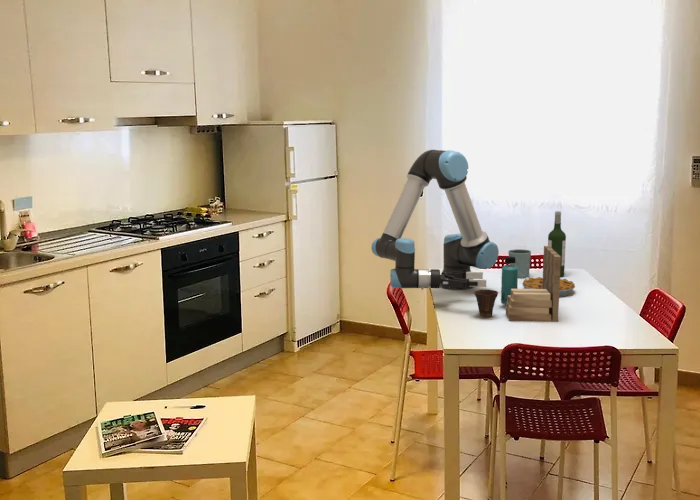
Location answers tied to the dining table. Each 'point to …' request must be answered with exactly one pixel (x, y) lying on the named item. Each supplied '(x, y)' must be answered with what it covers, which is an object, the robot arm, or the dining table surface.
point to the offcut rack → (538, 294)
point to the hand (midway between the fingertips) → (484, 279)
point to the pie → (537, 283)
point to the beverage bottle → (508, 279)
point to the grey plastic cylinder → (521, 261)
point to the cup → (485, 301)
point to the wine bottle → (558, 241)
